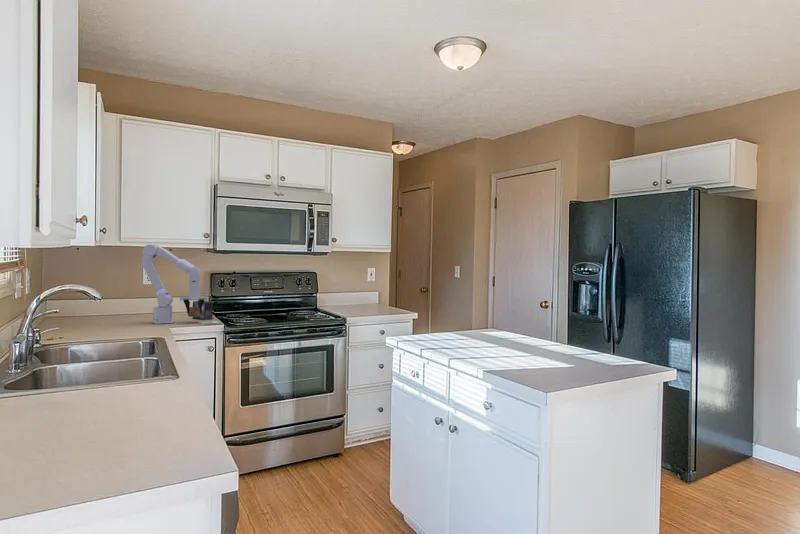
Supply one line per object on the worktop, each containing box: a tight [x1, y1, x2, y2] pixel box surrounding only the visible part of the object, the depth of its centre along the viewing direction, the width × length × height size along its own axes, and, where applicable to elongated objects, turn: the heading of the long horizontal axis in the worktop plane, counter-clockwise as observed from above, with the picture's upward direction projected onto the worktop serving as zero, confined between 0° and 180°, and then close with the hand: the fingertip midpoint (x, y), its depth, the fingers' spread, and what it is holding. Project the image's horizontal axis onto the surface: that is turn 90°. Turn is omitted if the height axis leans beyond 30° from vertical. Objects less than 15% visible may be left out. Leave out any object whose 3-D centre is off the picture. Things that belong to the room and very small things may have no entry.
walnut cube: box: [187, 306, 200, 318], centre depth 272 cm, size 5×5×5 cm
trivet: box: [198, 320, 221, 326], centre depth 270 cm, size 9×9×1 cm
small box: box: [192, 300, 214, 321], centre depth 289 cm, size 11×6×10 cm, turn 62°
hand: (193, 313), depth 272 cm, fingers closed on walnut cube, 5 cm apart
